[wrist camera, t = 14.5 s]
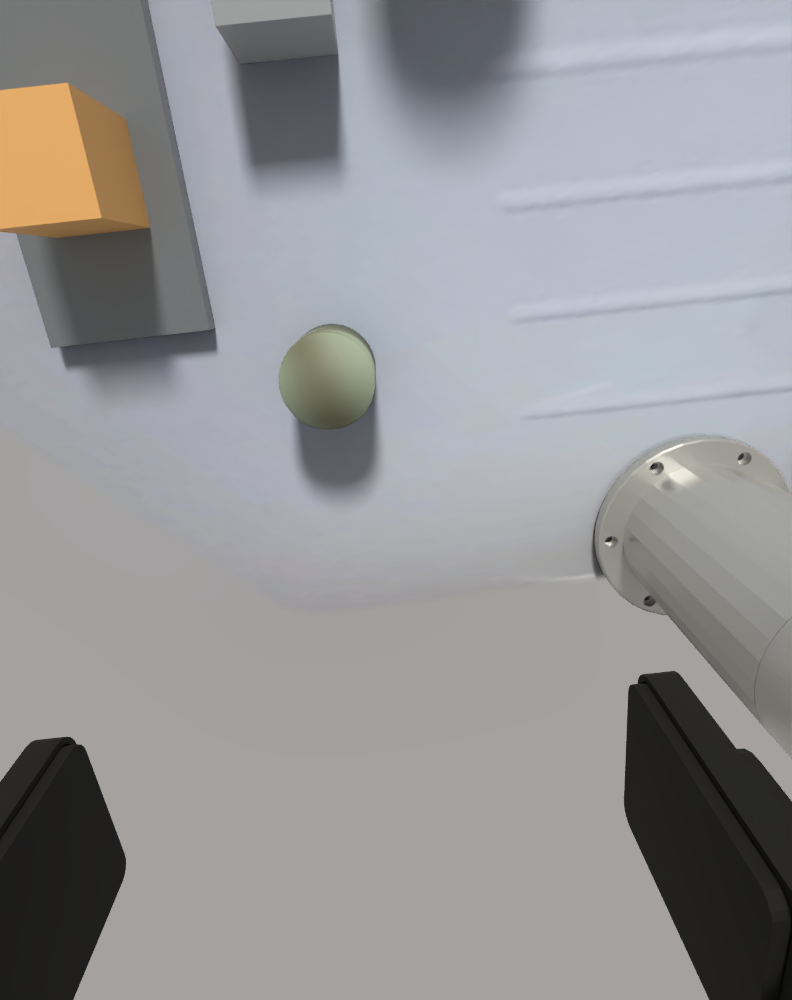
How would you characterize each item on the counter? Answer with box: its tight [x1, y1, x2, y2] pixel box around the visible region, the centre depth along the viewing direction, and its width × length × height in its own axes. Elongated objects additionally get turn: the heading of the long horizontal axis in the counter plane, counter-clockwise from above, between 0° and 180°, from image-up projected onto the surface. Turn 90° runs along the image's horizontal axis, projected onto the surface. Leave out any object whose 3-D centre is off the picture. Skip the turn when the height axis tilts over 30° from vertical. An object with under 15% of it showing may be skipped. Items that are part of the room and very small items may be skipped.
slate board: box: [0, 0, 215, 348], centre depth 31 cm, size 9×16×1 cm, turn 6°
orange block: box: [0, 83, 150, 238], centre depth 28 cm, size 5×5×6 cm
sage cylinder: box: [279, 324, 375, 429], centre depth 33 cm, size 5×5×5 cm
